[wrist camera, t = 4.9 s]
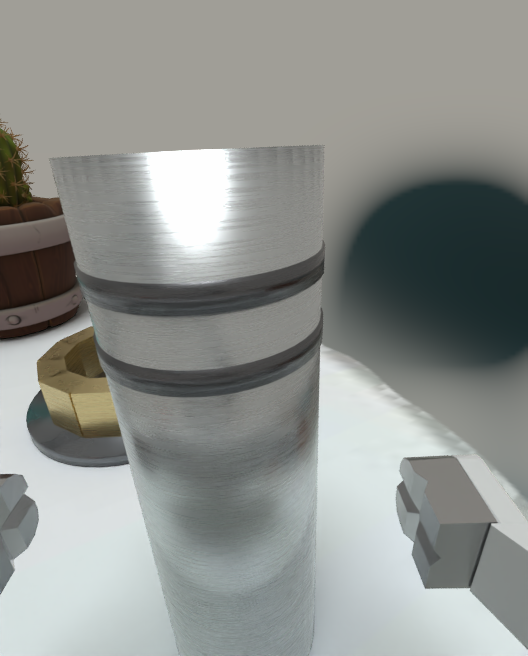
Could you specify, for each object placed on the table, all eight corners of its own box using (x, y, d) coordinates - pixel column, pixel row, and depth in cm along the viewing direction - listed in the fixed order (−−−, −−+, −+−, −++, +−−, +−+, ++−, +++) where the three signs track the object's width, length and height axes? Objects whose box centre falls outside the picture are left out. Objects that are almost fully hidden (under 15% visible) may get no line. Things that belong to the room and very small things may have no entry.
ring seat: (-20, 472, 20) (-47, 415, 19) (83, 354, 32) (71, 313, 30) (221, 461, 20) (214, 403, 18) (235, 347, 32) (231, 305, 30)
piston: (161, 714, 11) (-31, 161, 5) (188, 553, 16) (108, 156, 9) (326, 707, 11) (356, 142, 5) (306, 548, 16) (309, 147, 9)
